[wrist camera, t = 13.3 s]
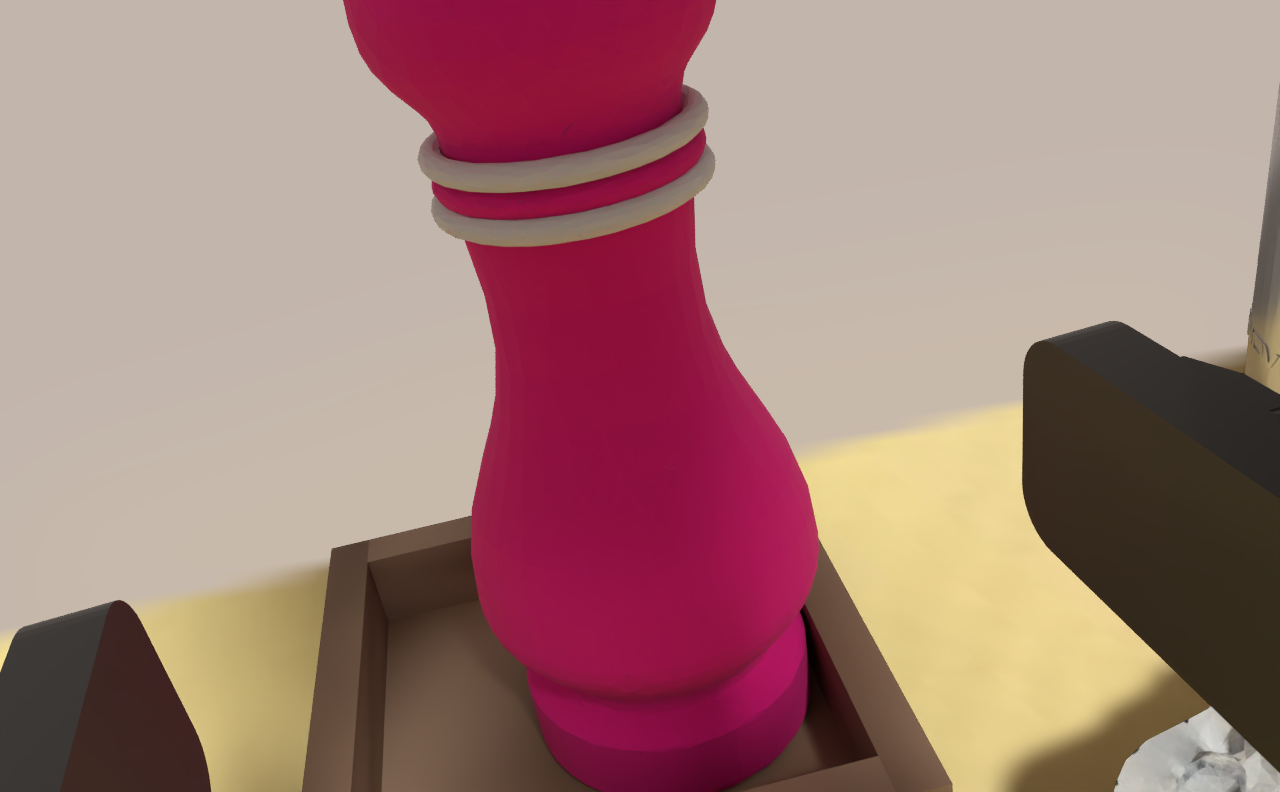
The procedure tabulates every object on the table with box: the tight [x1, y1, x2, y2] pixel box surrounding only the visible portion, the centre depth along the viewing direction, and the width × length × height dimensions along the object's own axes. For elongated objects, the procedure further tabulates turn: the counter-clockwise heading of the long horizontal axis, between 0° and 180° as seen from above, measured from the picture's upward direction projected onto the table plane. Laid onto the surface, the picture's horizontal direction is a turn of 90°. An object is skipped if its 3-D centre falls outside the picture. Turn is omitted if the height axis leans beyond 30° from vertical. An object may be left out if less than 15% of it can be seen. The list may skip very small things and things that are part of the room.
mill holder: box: [302, 516, 953, 792], centre depth 25 cm, size 12×12×3 cm
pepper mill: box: [343, 0, 819, 792], centre depth 20 cm, size 7×7×20 cm
